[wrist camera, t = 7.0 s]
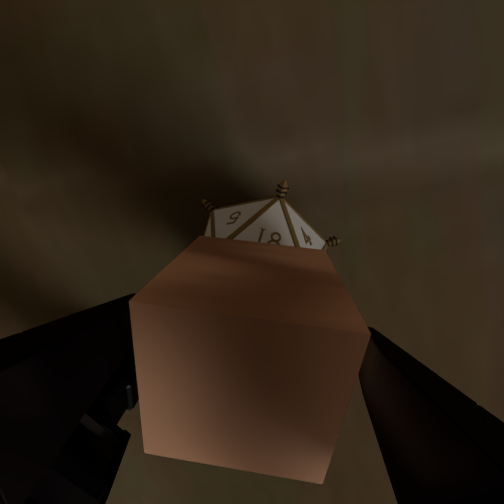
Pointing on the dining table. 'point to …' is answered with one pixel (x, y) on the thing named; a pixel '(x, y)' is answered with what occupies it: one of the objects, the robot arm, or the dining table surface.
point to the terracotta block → (247, 357)
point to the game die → (265, 223)
